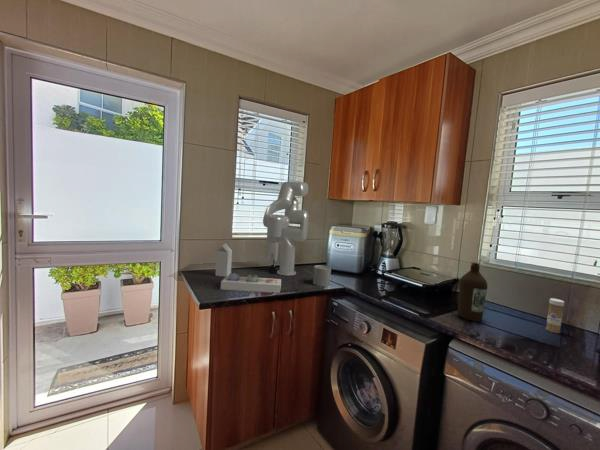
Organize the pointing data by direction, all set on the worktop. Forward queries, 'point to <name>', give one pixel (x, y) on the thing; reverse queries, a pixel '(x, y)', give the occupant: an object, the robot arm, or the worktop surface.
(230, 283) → the button board
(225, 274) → the milk carton
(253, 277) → the button three
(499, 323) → the worktop surface
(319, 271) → the coffee mug
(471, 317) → the olive oil
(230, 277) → the button two
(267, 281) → the button one
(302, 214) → the robot arm
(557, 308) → the sprinkles bottle
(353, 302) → the worktop surface
